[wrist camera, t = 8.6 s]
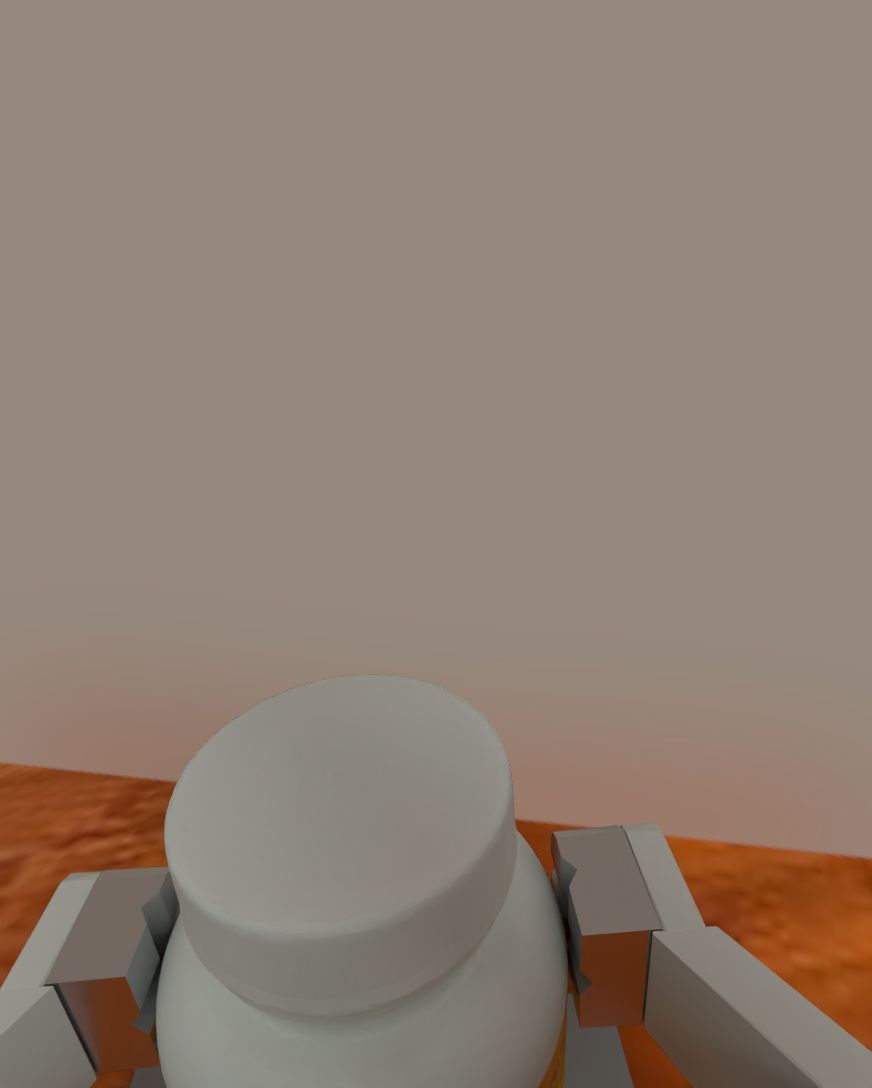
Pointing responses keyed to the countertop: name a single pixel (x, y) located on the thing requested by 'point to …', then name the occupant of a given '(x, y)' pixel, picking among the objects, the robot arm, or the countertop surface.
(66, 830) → the countertop surface
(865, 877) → the countertop surface
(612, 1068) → the housing plate
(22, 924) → the countertop surface
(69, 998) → the robot arm
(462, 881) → the supplement bottle
